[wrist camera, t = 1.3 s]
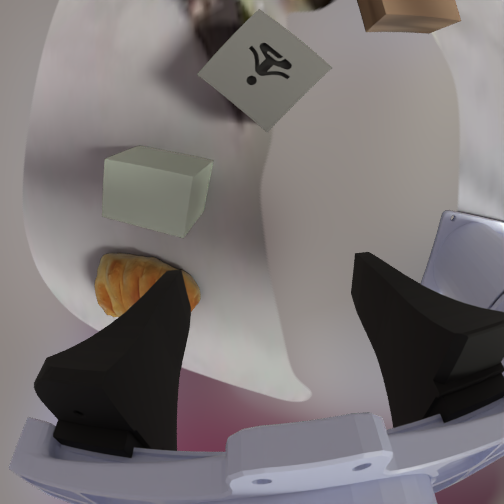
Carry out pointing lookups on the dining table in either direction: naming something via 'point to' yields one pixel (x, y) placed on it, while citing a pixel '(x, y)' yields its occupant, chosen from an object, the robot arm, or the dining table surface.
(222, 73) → the grey symbol cube
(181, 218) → the grey-green block
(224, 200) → the dining table surface
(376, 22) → the walnut block
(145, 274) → the pastry
